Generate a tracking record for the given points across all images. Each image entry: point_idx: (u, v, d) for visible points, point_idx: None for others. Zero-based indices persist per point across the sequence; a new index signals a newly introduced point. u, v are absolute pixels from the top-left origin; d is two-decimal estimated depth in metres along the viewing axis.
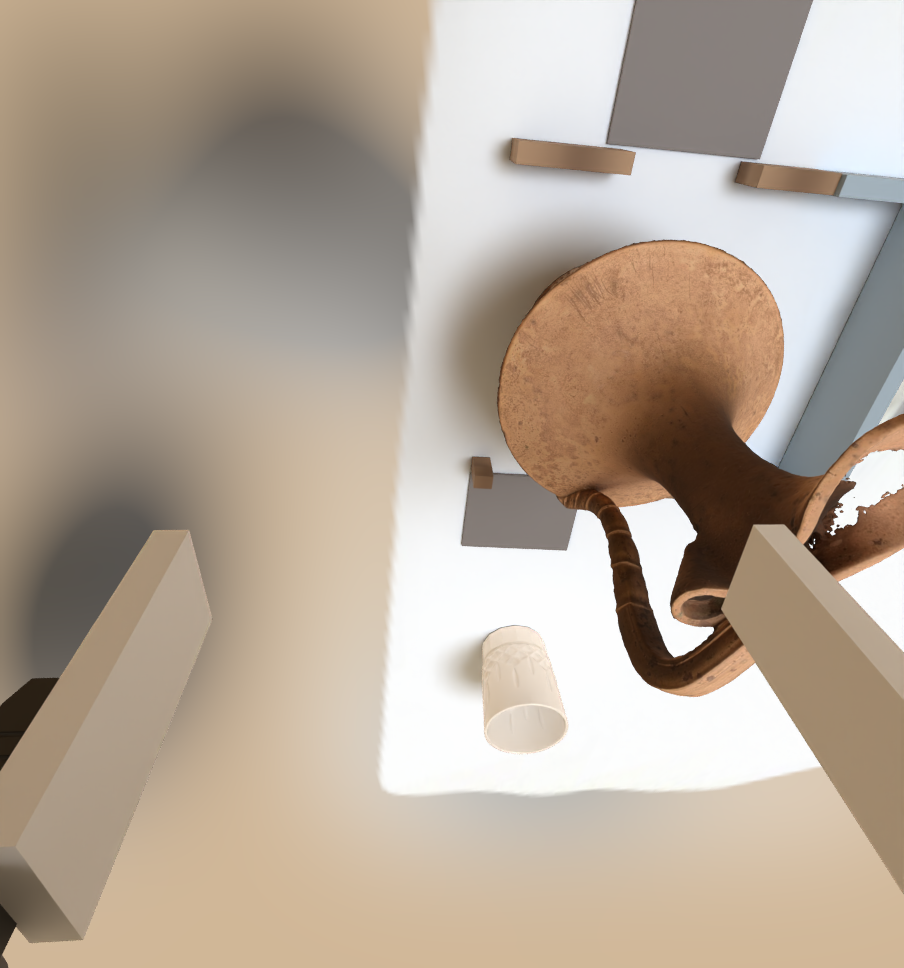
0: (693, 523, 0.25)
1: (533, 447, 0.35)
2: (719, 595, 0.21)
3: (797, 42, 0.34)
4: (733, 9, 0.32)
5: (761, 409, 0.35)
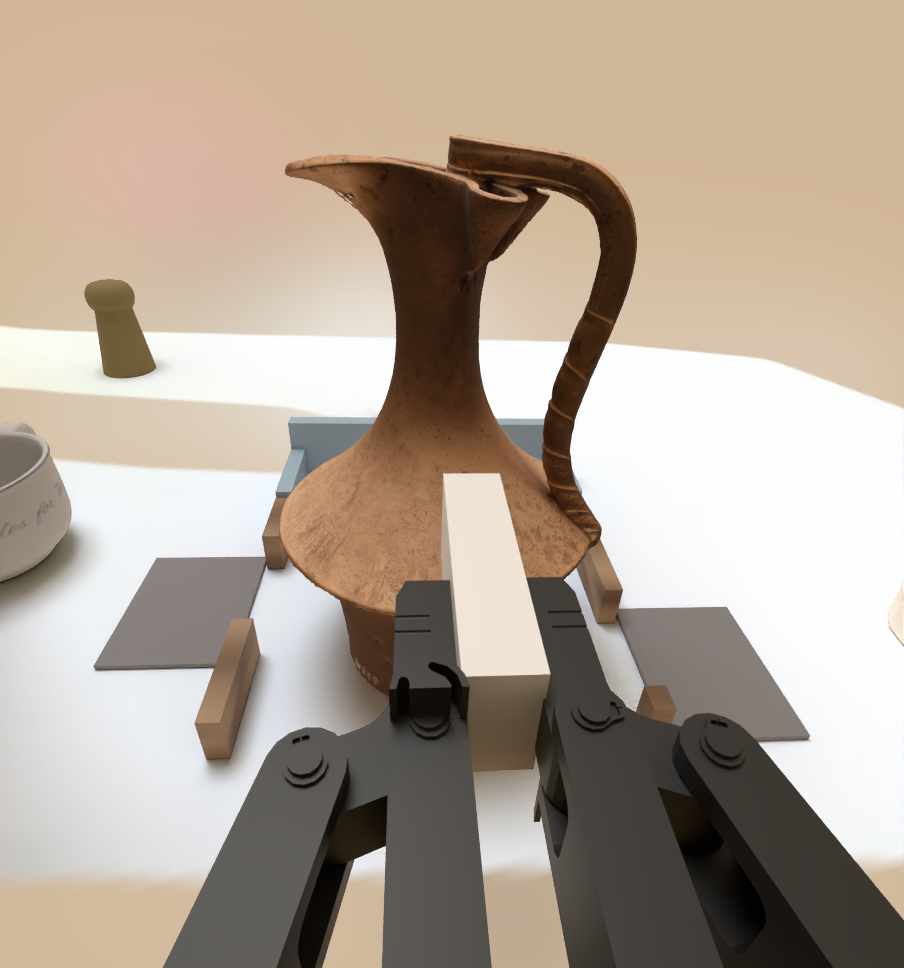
0: (462, 291, 0.25)
1: None
2: (475, 184, 0.22)
3: (185, 559, 0.43)
4: (146, 599, 0.39)
5: None
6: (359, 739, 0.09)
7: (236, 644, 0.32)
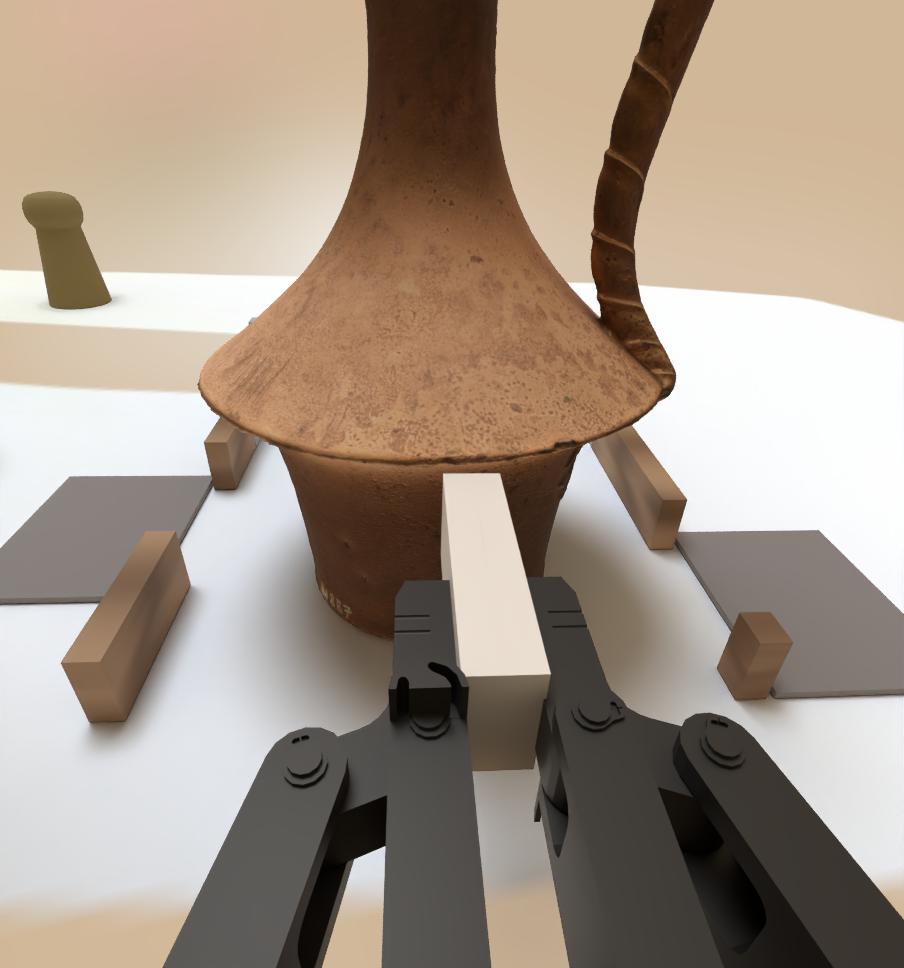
0: None
1: (561, 385, 0.17)
2: None
3: (107, 478, 0.33)
4: (45, 522, 0.29)
5: None
6: (359, 739, 0.09)
7: (146, 561, 0.22)
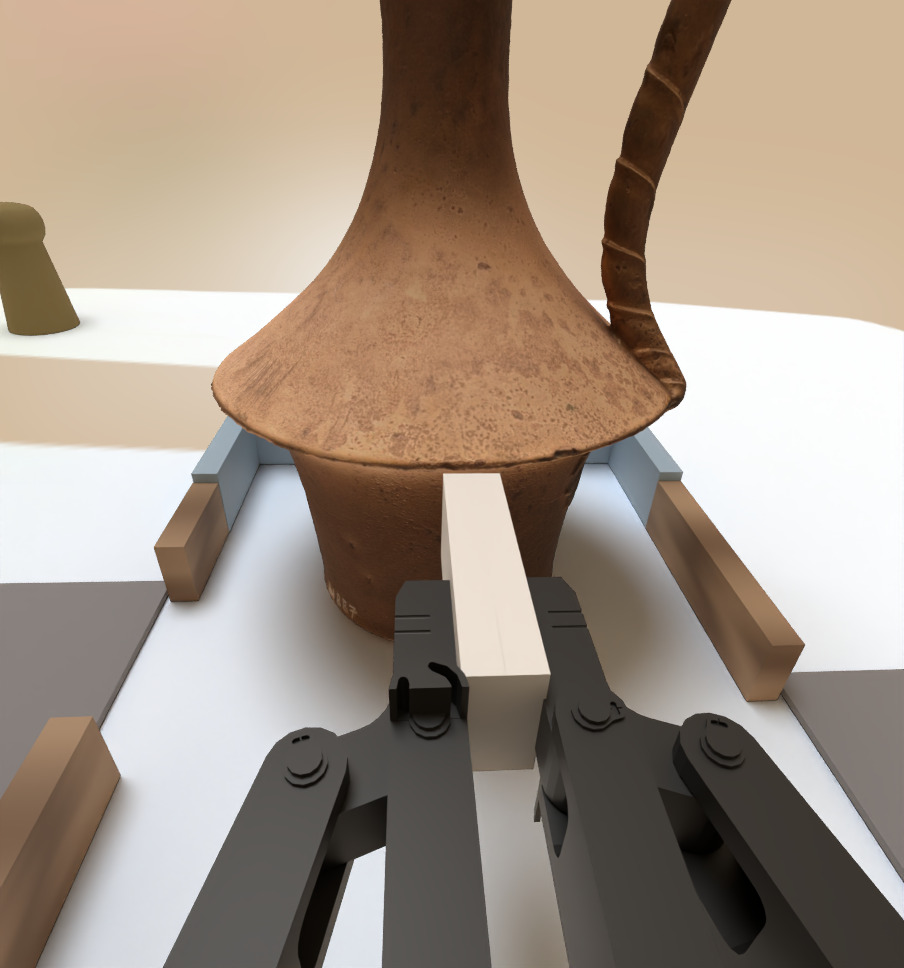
0: None
1: (564, 393, 0.17)
2: None
3: (33, 585, 0.25)
4: None
5: None
6: (359, 739, 0.09)
7: (39, 783, 0.15)
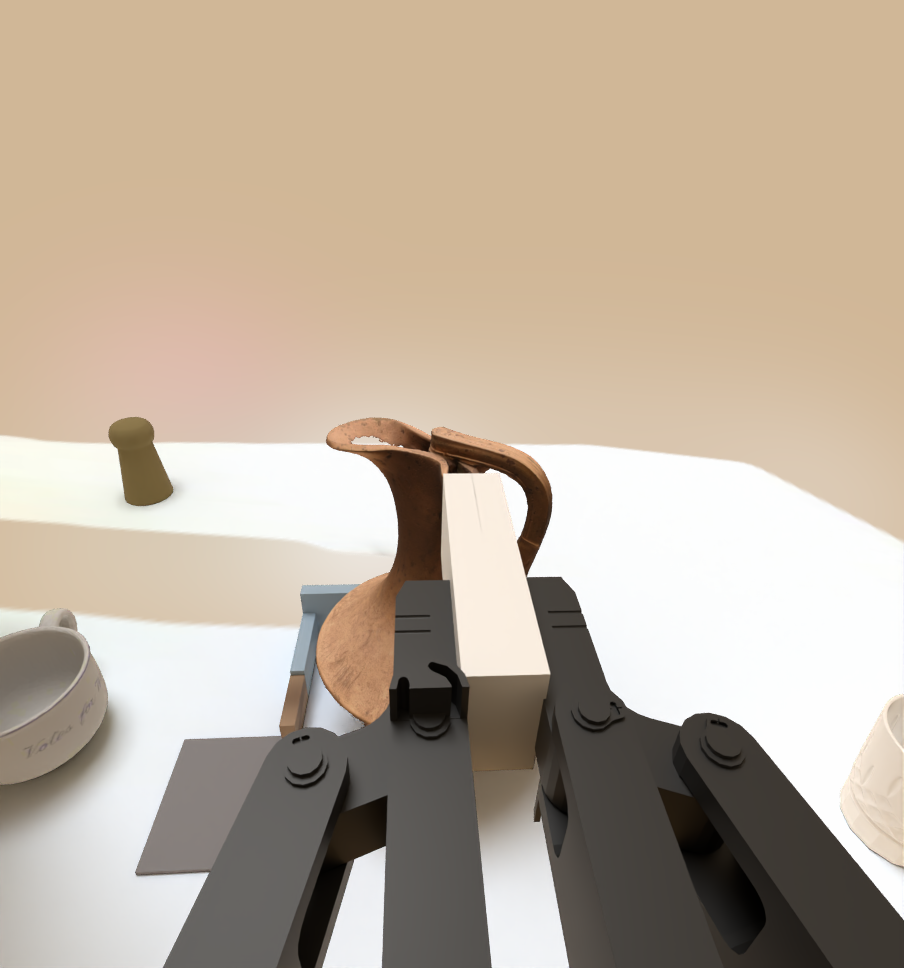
0: (440, 519, 0.37)
1: None
2: (446, 469, 0.34)
3: (210, 739, 0.48)
4: (177, 791, 0.44)
5: None
6: (359, 739, 0.09)
7: None
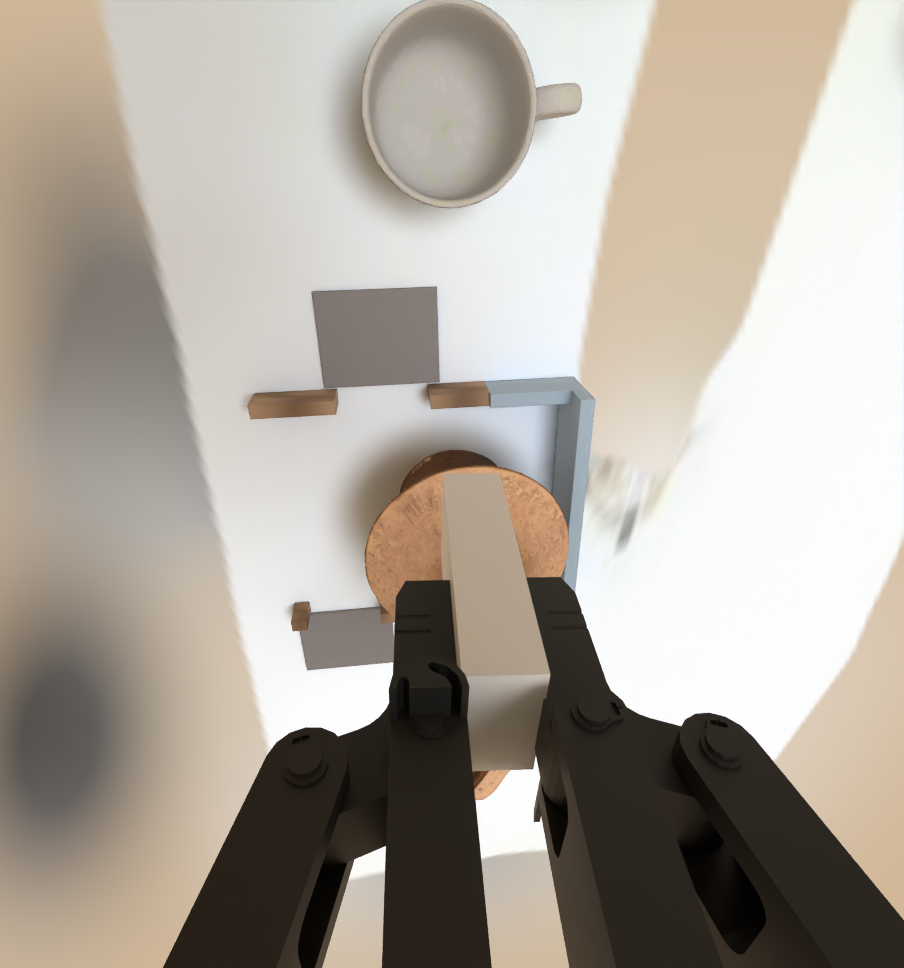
0: None
1: None
2: None
3: None
4: (382, 301, 0.47)
5: (559, 563, 0.48)
6: (359, 739, 0.09)
7: (311, 410, 0.48)
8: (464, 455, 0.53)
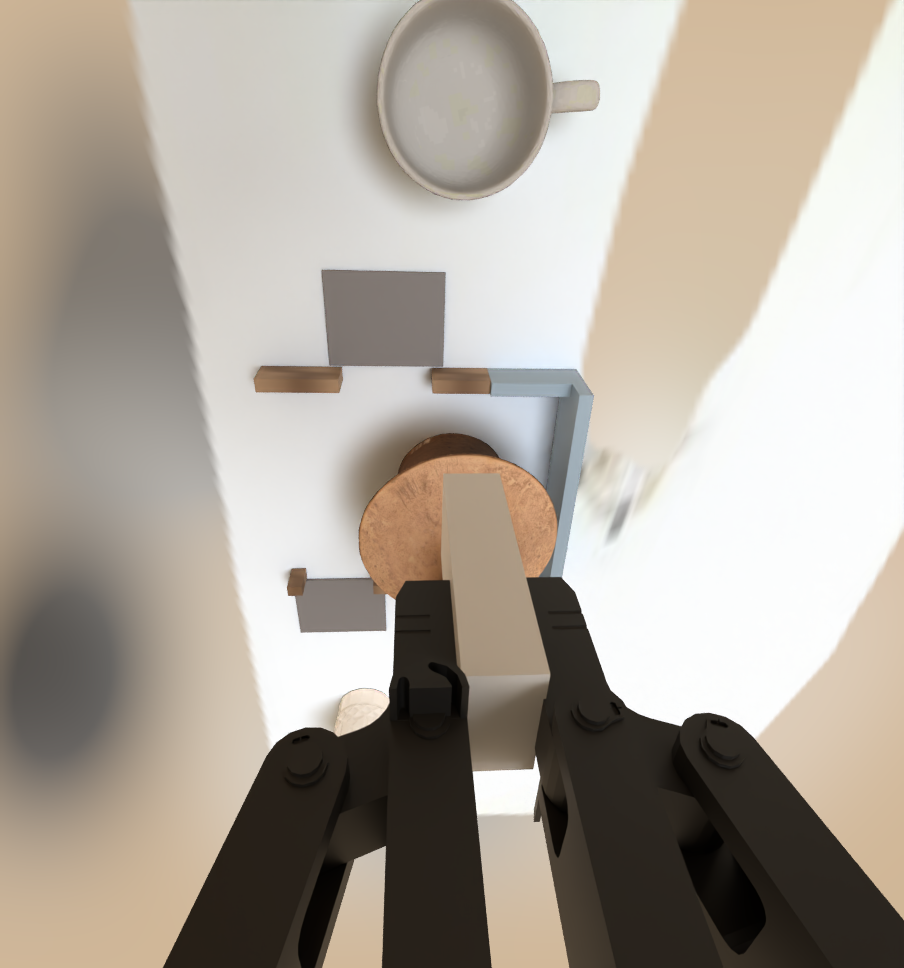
0: None
1: (386, 581, 0.49)
2: None
3: (444, 298, 0.48)
4: (391, 283, 0.47)
5: (546, 552, 0.50)
6: (359, 739, 0.09)
7: (314, 387, 0.49)
8: (462, 439, 0.54)
